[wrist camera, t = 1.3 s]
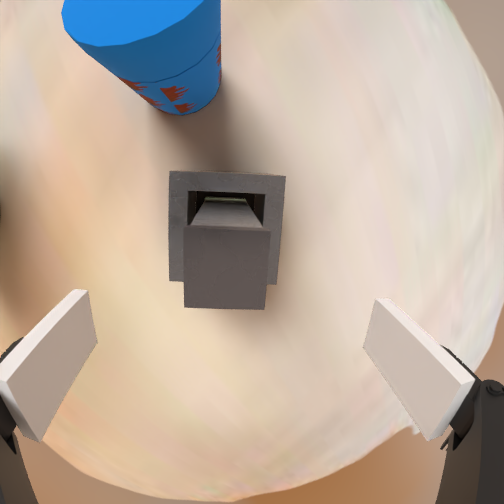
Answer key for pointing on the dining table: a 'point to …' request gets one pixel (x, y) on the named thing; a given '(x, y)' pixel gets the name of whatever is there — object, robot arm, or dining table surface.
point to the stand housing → (190, 182)
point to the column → (225, 256)
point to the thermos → (154, 46)
